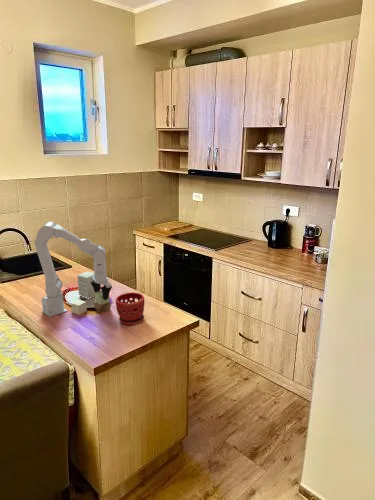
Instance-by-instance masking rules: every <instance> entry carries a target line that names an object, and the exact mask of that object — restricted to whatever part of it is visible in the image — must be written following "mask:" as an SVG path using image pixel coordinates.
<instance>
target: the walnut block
mask: <svg viewBox="0 0 375 500" xmlns="http://www.w3.org/2000/svg"><path fill="white" fill-rule="evenodd" d="M94 307H95V309H94V310H95V311H96V312H98V313H99V314H100V313H103V312H106V311H110V310H111V302H109V303H106V304H103V305H100V304H98V303H96V302H95V300H94V301H93V308H94Z"/></svg>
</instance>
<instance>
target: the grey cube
mask: <svg viewBox="0 0 375 500" xmlns="http://www.w3.org/2000/svg"><path fill="white" fill-rule="evenodd" d="M70 306H71V313H73V314H76V315H79V316H80V315H83V313H84V314H85V313H86V312H87V311H88V309H87V301H84V300H83V299H82V300H81V299H77V300H75V301H73V302H71V305H70Z"/></svg>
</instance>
